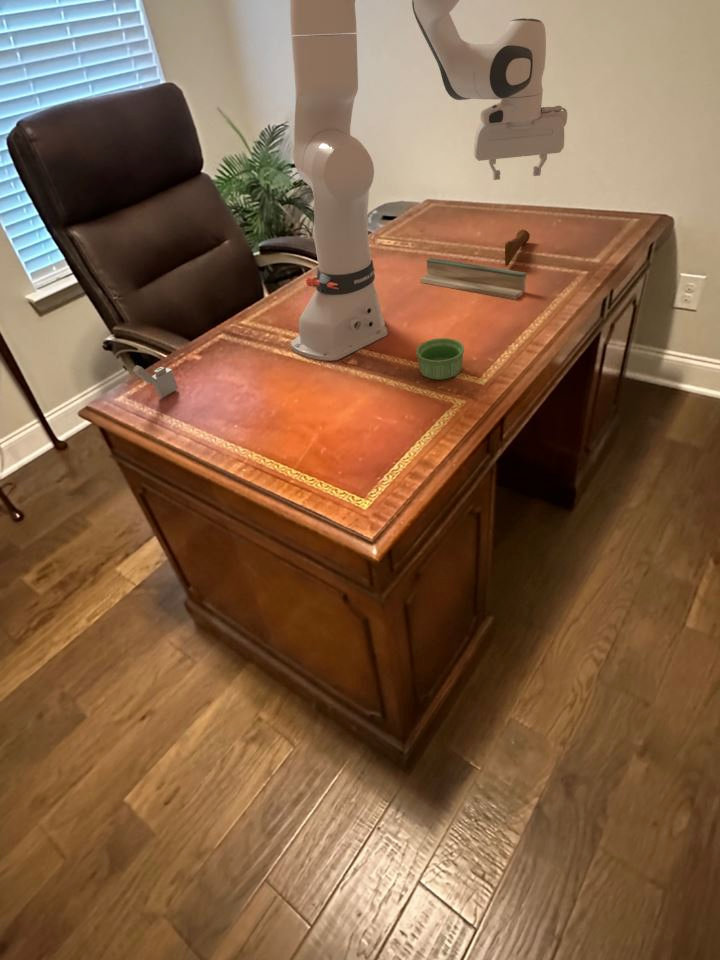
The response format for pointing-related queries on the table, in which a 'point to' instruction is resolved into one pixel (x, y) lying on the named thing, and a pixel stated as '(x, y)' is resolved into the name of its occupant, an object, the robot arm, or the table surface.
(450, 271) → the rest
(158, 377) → the lighter
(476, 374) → the table surface
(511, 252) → the primitive tool
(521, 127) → the robot arm
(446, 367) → the ramekin
